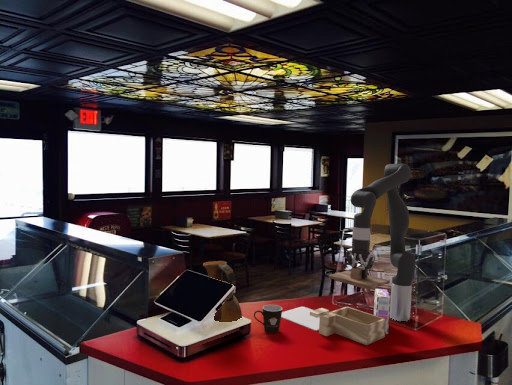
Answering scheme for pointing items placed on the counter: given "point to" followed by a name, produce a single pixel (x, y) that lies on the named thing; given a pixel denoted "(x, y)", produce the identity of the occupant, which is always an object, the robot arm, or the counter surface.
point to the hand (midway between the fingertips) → (359, 276)
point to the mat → (302, 317)
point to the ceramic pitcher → (230, 307)
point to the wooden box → (353, 325)
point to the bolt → (319, 312)
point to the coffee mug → (271, 318)
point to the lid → (359, 279)
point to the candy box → (382, 305)
